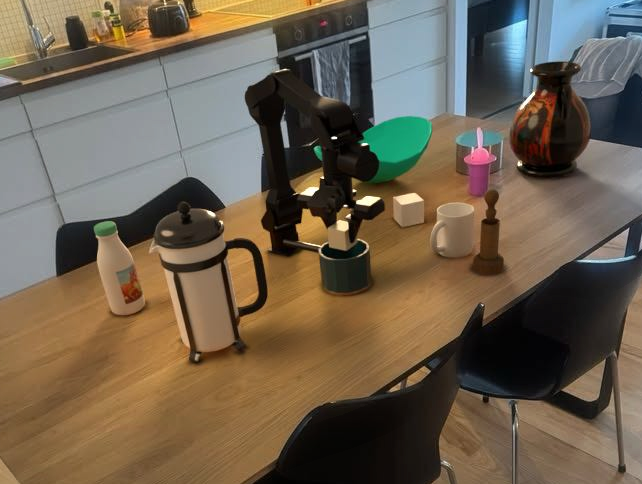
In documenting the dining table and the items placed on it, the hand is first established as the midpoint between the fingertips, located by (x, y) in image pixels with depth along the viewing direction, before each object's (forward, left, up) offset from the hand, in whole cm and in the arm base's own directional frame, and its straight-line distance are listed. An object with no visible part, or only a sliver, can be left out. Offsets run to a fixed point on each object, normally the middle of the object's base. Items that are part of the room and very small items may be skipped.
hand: (342, 240), depth 146 cm
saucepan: (-5, 0, -10) cm, 12 cm away
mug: (+14, +22, -10) cm, 28 cm away
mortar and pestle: (+25, +19, -10) cm, 33 cm away
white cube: (-4, +35, -11) cm, 37 cm away
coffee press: (-10, -32, -10) cm, 35 cm away
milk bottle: (-39, -31, -11) cm, 51 cm away
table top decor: (-28, +58, -11) cm, 66 cm away
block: (0, 0, -1) cm, 1 cm away
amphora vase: (+15, +81, -11) cm, 83 cm away
